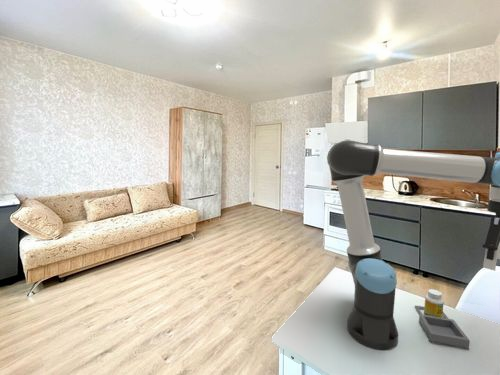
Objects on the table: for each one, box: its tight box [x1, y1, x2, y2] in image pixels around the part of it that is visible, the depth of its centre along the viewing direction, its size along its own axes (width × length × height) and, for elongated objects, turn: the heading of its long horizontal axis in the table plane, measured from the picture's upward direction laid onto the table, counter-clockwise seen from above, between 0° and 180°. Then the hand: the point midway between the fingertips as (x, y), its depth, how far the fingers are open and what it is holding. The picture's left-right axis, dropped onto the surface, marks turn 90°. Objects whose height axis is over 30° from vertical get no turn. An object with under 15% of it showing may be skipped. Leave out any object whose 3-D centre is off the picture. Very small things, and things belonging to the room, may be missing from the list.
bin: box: [418, 314, 471, 350], centre depth 80 cm, size 10×10×3 cm
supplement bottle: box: [423, 288, 445, 318], centre depth 89 cm, size 5×5×10 cm
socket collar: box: [414, 305, 450, 319], centre depth 90 cm, size 9×9×1 cm
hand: (495, 263), depth 81 cm, fingers open, 13 cm apart
